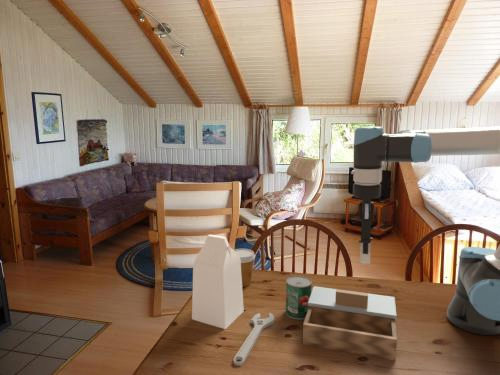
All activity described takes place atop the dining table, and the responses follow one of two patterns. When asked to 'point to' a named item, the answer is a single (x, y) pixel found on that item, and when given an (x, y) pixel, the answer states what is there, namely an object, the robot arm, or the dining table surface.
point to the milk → (217, 283)
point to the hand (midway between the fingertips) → (365, 262)
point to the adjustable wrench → (253, 337)
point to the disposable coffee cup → (246, 265)
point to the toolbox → (350, 332)
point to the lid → (353, 302)
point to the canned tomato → (297, 296)
